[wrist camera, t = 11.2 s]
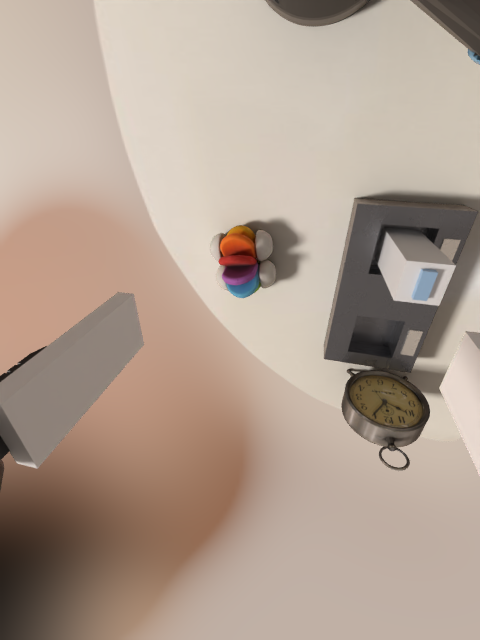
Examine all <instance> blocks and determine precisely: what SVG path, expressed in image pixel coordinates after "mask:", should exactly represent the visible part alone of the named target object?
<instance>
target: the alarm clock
mask: <svg viewBox="0 0 480 640" xmlns="http://www.w3.org/2000/svg"><path fill="white" fill-rule="evenodd" d="M347 373H349V374H350V375H351V376H352V377H351V378H350V379H349V380H348V381H347V383H346V387H345V392H344V396H343V400H342V412H343V415H344V418H345V420H346V421H347V423H348V424H349V426H350V427H351V428H352V429H353V430H354V431H355V432H356V433H357V434H359V435H360V436H361V437H363V438H364V439H366V440H368V441H370V442H372V443H374V444H378V445H381V446H385V447H383V448H381V450H380V452H379V457H380V460H381V461H382V462H383V463H384V464H385V465H386V466H387V467H389V468H391V469H394V470H405V469H406V468H408V466H409V464H410V462H409V459H408V457H407V455H406V454H405V453H404V452H403V451H401V450H400V449H398V448H397V447H403V446H407V445H409V444H411V443H412V442H414V441H416V440H417V439H418V437H419V436H420V434H421V432H422V430H423V428H424V426H425V424H426V422H427V421H428V419H429V416H430V408H429V404H428V402H427V400H426V398H425V396H424V395H423V394H422V393H421V391H420V390H419V389H418V388H417V387H415V386H414V385H413V384H412V383H410V382H409V381H407V377H403V378H402V377H400V376H397V375H395V374H392V373H389V372H384V371H376V370H371V371H363V372H360V373H357V374H354V373H352V372H351V370H350V369H348V370H347ZM386 448H388V449H389V450H390V451H395V450H398V451H400V452H401V453H402V454H403V455H404V456H405V457H406V460H407V464H406V465H405V466H404V467H401V468H397V467H393V466H391V465H389V464H387V463H386V462H385V461H384V460H383V458H382V456H381V453H382V451H383V450H384V449H386Z"/></svg>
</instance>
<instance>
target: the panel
mask: <svg viewBox="0 0 480 640" xmlns="http://www.w3.org/2000/svg"><path fill="white" fill-rule="evenodd" d="M477 213H478V211H476V210H474V209H472V208H469V207H467V206H465V205H454V204H438V203H423V202H407V201H391V200H375V199H359V198H355V199H354V204H353V208H352V213H351V218H350V223H349V228H348V232H347V237H346V242H345V247H344V251H343V256H342V261H341V266H340V271H339V275H338V280H337V285H336V290H335V294H334V299H333V304H332V309H331V314H330V318H329V323H328V328H327V333H326V337H325V342H324V359H327V360H334V361H340V362H346V363H353V364H359V365H365V366H372V367H378V368H384V369H391V370H397V371H403V372H410V373H411V370H412V368H413V366H414V363H415V361H416V358H417V356H418V354H419V351H420V349H421V346H422V344H423V342H424V339H425V337H426V334H427V332H428V330H429V327H430V325H431V323H432V320H433V318H434V315H435V313H436V311H437V308H438V306H436V305H428V304H419V303H411V302H402V301H394V300H393V298H392V296H391V293H390V291H389V289H388V286H387V284H386V282H385V280H384V277H383V275H382V273H381V271H380V268H379V266H378V264H377V262H376V259H375V258H376V254H377V250H378V247H379V243H380V239H381V235H382V232H383V228H384V227H385V228H398V229H411V230H419V231H420V232H422V233H423V234H424V235H425V236H426V237H427V238H428V239H429V240H430V241H431V242H432V243H433V244H434V245H435V246H436V247H437V248H438V249H439V250H440V251H442V252H443V253H444V254H445V255H446V256H447V257H448V258H449V259H450V260H451V261H452V262H453V263H454V264H455V265H456V263H457V261H458V258H459V256H460V253H461V251H462V249H463V246H464V244H465V241H466V239H467V237H468V234H469V232H470V230H471V227H472V225H473V222H474V220H475V218H476V215H477Z"/></svg>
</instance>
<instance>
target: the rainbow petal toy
mask: <svg viewBox="0 0 480 640" xmlns="http://www.w3.org/2000/svg"><path fill="white" fill-rule="evenodd" d="M272 251H273V241H272V237H271V236H270V235H269V234H268V233H267V232H265V231H263V230H258V231H257V233H256V236H255V234H254V233H253V231H252V230H251V229H250V228H248V227H246V226H243V225H239V226H236V227H234V228H232V229H231V230H230V231H229V232H228V233H227V235H226V236H225V234H224V233H220V234H217V235H216V236H214V237H213V239H212V240H211V242H210V253H211V255H212V257H213V258H214V259H215V260H216V261H218V262H219V264H220V265H221V266H220V267H219V268H218V270H217V273H216V280H217V283H218V285H219V286H220V287H221V288H222V289H224V290H227V291H230V292H231V294H233V295H234V296H236V297H239V298H245V297H248V296H250V295H251V294H253V293H255V292H256V291H257V290H258V289H259V288H260V286H262V287H263V288H267V287H269V286H271V285H272V284H273V283H274V282H275V280H276V268H275V266H274V264H273V263H272V262H270V261H268V260H266V259H267V258H268V257H269V256H270V255H271V253H272ZM256 258H257V259H258V260H259V261H260V263H258V262H257V259H256Z"/></svg>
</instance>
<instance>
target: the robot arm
mask: <svg viewBox="0 0 480 640" xmlns="http://www.w3.org/2000/svg"><path fill="white" fill-rule="evenodd" d="M265 1H266V2H267V3H268V5H269V6H270V7H271V8H272V9H273V10H274V11H275V12H276V13H278V14H279V15H280V16H282V17H283V18H285V19H287V20H288V21H291V22H293V23H296V24H299V25H303V26H324V25H328V24H332V23H335V22H338V21H340V20H342V19H344V18H346V17H348V16H350V15H352V14H353V13H355V12H356V11H358V10H359V9H360V8H362V7H363V6H364V5H365V4H366V3H368V2H369V1H370V0H265ZM411 1H412V2H413V3H414V4H415V5H417V6H418V7H419V8H420V9H421V10H423V11H424V12H425V13H426V14H427V15H428V16H430V17H431V18H432V19H433V20H434V21H436V22H437V23H438V24H439V25H440V26H442V27H443V28H444V29H445V30H446V31H448V32H449V33H450V34H451V35H452V36H453V37H455V38H456V39H457V40H458V41H459V42H461V43H462V44H463V45H464V46H465V47H467V48H468V55H469V57H470V58H471V59H472V60H473V61H474V62H475V63H477V64H480V0H411ZM143 345H144V342H143V337H142V333H141V328H140V323H139V318H138V313H137V308H136V303H135V298H134V294H129V293H121V292H118V293H116V294H115V295H114V296H113V297H111V298H110V299H109V300H107V301H106V302H105V303H103V304H102V305H101V306H99V307H98V308H97V309H96V310H94V311H93V312H92V313H90V314H89V315H88V316H86V317H85V318H84V319H82V320H81V321H80V322H79V323H77V324H76V325H75V326H73V327H72V328H71V329H69V330H68V331H67V332H65V333H64V334H63V335H61V336H60V337H59V338H58V339H56V340H55V341H54V342H52V343H51V344H50V345H49V346H45V347H43V348H41V349H39V350H37V351H35V352H33V353H31V354H29V355H28V356H27V357H25V358H24V359H23V360H21V361H20V362H18V365H14V366H13V367H12V368H10V369H9V370H8V371H7V373H4V374H2V375H1V376H0V490H1V483H2V478H3V472H4V464H3V461H2V460H1V459H2V458H3V457H4V456H5V455H6V454H7V453H8V452H9V451H10V453H11V455H12V456H13V458H14V460H15V461H16V463H18V464H22V465H26V466H30V467H33V468H38V467H39V466H40V465H41V464H42V463H43V462H44V460H45V459H46V458H47V457H48V456H49V455H50V453H51V452H52V451H53V450H54V449H55V448H56V446H57V445H58V444H59V443H60V442H61V441H62V439H63V438H64V437H65V436H66V435H67V434H68V433H69V431H70V430H71V429H72V428H73V426H75V424H76V423H77V422H78V421H79V420H80V419H81V417H82V416H83V415H84V414H85V413H86V412H87V410H88V409H89V408H90V407H91V406H92V405H93V403H94V402H95V401H96V400H97V399H98V398H99V396H100V395H101V394H102V393H103V392H104V391H105V389H106V388H107V387H108V386H109V385H110V383H111V382H112V381H113V380H114V379H115V378H116V377H117V375H118V374H119V373H120V372H121V371H122V370H123V368H124V367H125V366H126V365H127V363H129V361H130V360H131V359H132V358H133V357H134V355H135V354H136V353H137V352H138V351H139V350H140V349H141V347H142V346H143ZM439 389H440V391H441V393H442V395H443V398H444V400H445V402H446V404H447V406H448V408H449V411H450V413H451V415H452V417H453V419H454V421H455V424H456V426H457V428H458V430H459V432H460V434H461V437H462V439H463V441H464V443H465V445H466V447H467V449H468V452H469V454H470V456H471V458H472V460H473V462H474V465H475V467H476V469H477V471H478V473H479V475H480V333H476V332H467V331H466V332H465V334H464V336H463V338H462V340H461V342H460V344H459V347H458V349H457V351H456V353H455V355H454V357H453V359H452V362H451V364H450V366H449V368H448V370H447V372H446V374H445V377H444V379H443V381H442V383H441V385H440V387H439Z"/></svg>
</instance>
